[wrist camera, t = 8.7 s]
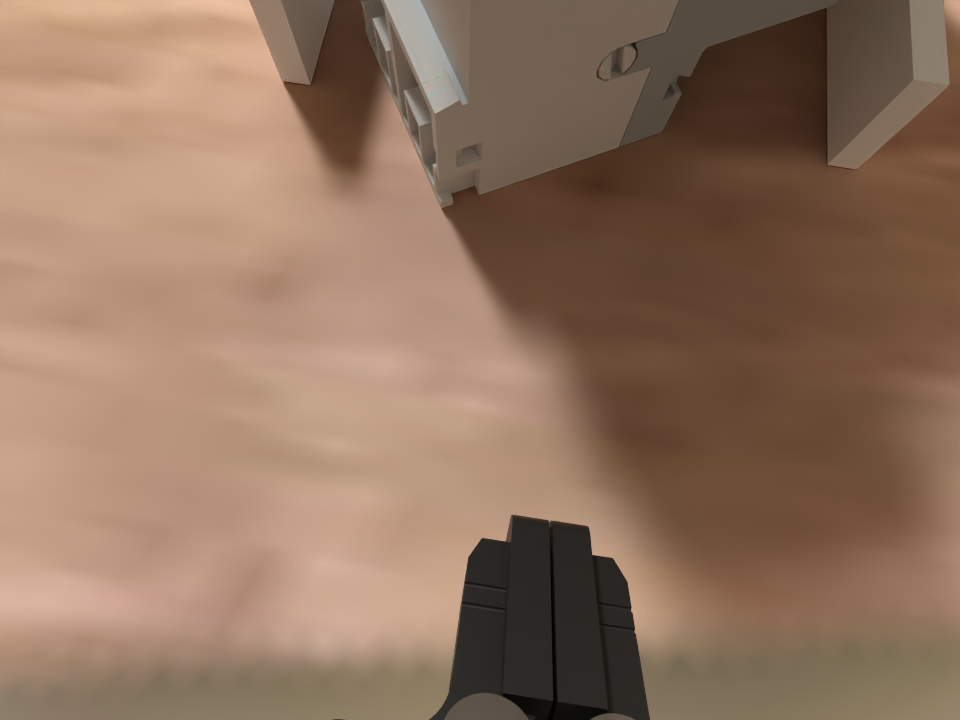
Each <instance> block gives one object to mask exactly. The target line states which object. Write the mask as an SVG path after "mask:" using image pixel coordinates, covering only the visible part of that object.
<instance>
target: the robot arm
mask: <svg viewBox="0 0 960 720" xmlns="http://www.w3.org/2000/svg"><path fill="white" fill-rule="evenodd" d="M634 631H635V626H634V620H633V614H632V612H631V601H630V595H629V589H628V583H627V581H626V579H625V577H624V576H623V574H622V572H621V571H620V569H619V567H618V566H617V564H616V563H615V561H614V559H613V558H608V557H602V556H595V555H592V548H591V539H590V531H589V528H588V526H583V525H577V524H570V523H564V522H557V521H550V523H549V521H548V520H543V519H537V518H531V517H524V516H518V515H511V519H510V523H509V528H508V533H507V539H506V542H504V541H498V540H492V539H485V538H482V539H481V540H480V542H479V543H478V544H477V546H476V547H475V549H474V550H473V552H472V553H471V554H470V556H469V557H468V563H467V570H466V576H465V582H464V589H463V595H462V601H461V607H460V614H459V621H458V629H457V636H456V643H455V650H454V658H453V665H452V672H451V679H450V686H449V694H448V696H447V699H446V700H445V703H444V704H443V706H442V707H441V708H440V710H439V711H438V712H437V713H436V714H435V715H434V716H433V717H432V718H431V719H430V720H650V717H649V712H648V706H647V700H646V694H645V687H644V681H643V675H642V669H641V663H640V657H639V651H638V644H637V638H636V634H635V632H634ZM335 720H341V719H335Z"/></svg>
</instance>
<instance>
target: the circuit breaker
mask: <svg viewBox="0 0 960 720" xmlns="http://www.w3.org/2000/svg"><path fill="white" fill-rule="evenodd" d="M360 1H361V3H362V6H363V11H364V16H365V22H366V25H365V26H364V27H365V32H366V36H367V38H368V40H369V42H370V45H371V47H372V49H373V52H374V54H375V56H376V59H377V61H378V63H379V66H380V68H381V70H382V73H383V75H384V77H385V79H386V82H387V84H388V86H389V89H390V91H391V93H392V96H393V98H394V100H395V103H396V105H397V107H398V110H399V112H400V114H401V116H402V119H403V121H404V123H405V126H406V128H407V130H408V133H409V135H410V137H411V140H412V142H413V144H414V147H415V149H416V151H417V153H418V156H419V158H420V160H421V163H422V165H423V167H424V170H425V172H426V174H427V177H428V179H429V181H430V184H431V186H432V188H433V190H434V193H435V195H436V197H437V200H438V202H439V204H440V207H441V208H444V207H447V206H450V205H452V204H453V198H452V195H451V194H452V193H455V192H458V191H461V190H464V189H467V188H470V187H473V186H475V188H476V190H477V192H478V194H479V195H482V194H484V193H487V192H490V191H493V190H496V189H499V188H502V187H505V186H508V185H511V184H513V183H516V182H519V181H522V180H525V179H528V178H531V177H534V176H537V175H540V174H543V173H545V172H548V171H551V170H554V169H557V168H560V167H563V166H566V165H569V164H572V163H575V162H577V161H580V160H583V159H586V158H589V157H592V156H595V155H598V154H601V153H604V152H607V151H609V150H612V149H615V148H618V147H621V146H624V145H627V144H630V143H633V142H635V141H638V140H641V139H644V138H647V137H650V136H653V135H656V134H658V133H660V132H662V131H663V130H664V128H665V126H666V124H667V122H668V120H669V118H670V116H671V114H672V112H673V110H674V108H675V106H676V104H677V102H678V100H679V98H680V96H681V94H682V92H681V90H680V89H679V87H678V85H677V83H676V82H677V79H678V77H679V75H680V76H686V77H690V76H691V74H692V72H693V70H694V68H695V66H696V64H697V62H698V60H699V59H700V57H701V55H702V53H703V51H704V50H705V49H706V48H707V47H709V46H712V45H716V44H719V43H722V42H725V41H728V40H731V39H734V38H737V37H740V36H743V35H746V34H749V33H752V32H755V31H758V30H761V29H764V28H767V27H770V26H773V25H776V24H779V23H782V22H785V21H788V20H791V19H794V18H797V17H800V16H803V15H806V14H809V13H812V12H815V11H818V10H821V9H824V8H827V7H830V6H833V5H835V4H836V3H837V2H839V1H840V0H360Z"/></svg>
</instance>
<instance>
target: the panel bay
mask: <svg viewBox="0 0 960 720" xmlns="http://www.w3.org/2000/svg"><path fill="white" fill-rule="evenodd" d="M249 1H250V3H251V6H252V8H253V10H254V13H255V15H256V18H257V20H258V23H259V25H260V28H261V30H262V33H263V35H264V38H265V40H266V43H267V45H268V47H269V50H270V52H271V55H272V57H273V60H274V62H275V65H276V67H277V70H278V72H279V75H280V77H281V80H282V81H286V82H292V83H299V84H305V85H311V81H312V78H313V74H314V71H315V67H316V64H317V60H318V57H319V53H320V50H321V46H322V43H323V39H324V36H325V32H326V29H327V25H328V22H329V18H330V15H331V11H332V8H333V4H334V1H335V0H249ZM949 85H950V82H949V68H948V55H947V41H946V27H945V14H944V0H840V1H839V2H837V3H836V4H835V5H833V6H830V7H827V157H828V165H831V166H838V167H844V168H851V169H858V168H859V167H860V166H861V165H862V164H863V163H864V162H865V161H867V160H868V159H869V158H870V157H871V156H872V155H873V154H874V153H875V152H876V151H878V150H879V149H880V148H881V147H882V146H883V145H884V144H885V143H886V142H888V141H889V140H890V139H891V138H892V137H893V136H894V135H895V134H896V133H897V132H899V131H900V130H901V129H902V128H903V127H904V126H905V125H906V124H907V123H908V122H910V121H911V120H912V119H913V118H914V117H915V116H916V115H917V114H918V113H920V112H921V111H922V110H923V109H924V108H925V107H926V106H927V105H928V104H929V103H931V102H932V101H933V100H934V99H935V98H936V97H937V96H938V95H939V94H941V93H942V92H943V91H944V90H945V89H946V88H947V87H948V86H949Z"/></svg>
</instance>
